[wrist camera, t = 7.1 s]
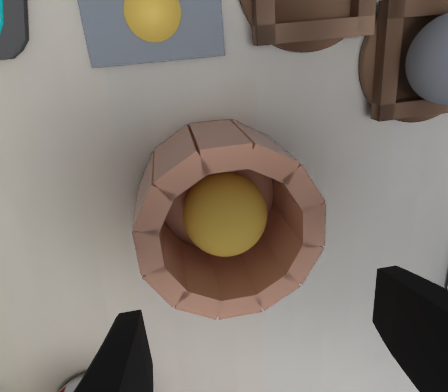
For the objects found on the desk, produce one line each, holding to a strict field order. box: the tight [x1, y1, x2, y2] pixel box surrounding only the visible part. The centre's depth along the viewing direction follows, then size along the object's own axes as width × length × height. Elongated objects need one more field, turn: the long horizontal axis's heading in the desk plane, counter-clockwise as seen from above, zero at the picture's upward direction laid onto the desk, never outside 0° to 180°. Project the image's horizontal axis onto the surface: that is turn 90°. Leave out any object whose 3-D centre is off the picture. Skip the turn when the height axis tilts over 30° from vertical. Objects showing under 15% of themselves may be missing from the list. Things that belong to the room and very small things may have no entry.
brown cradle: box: [359, 0, 448, 122], centre depth 18 cm, size 6×6×1 cm
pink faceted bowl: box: [132, 119, 326, 319], centre depth 18 cm, size 8×8×5 cm
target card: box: [77, 0, 225, 68], centre depth 16 cm, size 6×4×1 cm, turn 95°
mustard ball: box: [183, 172, 267, 257], centre depth 17 cm, size 4×4×4 cm
